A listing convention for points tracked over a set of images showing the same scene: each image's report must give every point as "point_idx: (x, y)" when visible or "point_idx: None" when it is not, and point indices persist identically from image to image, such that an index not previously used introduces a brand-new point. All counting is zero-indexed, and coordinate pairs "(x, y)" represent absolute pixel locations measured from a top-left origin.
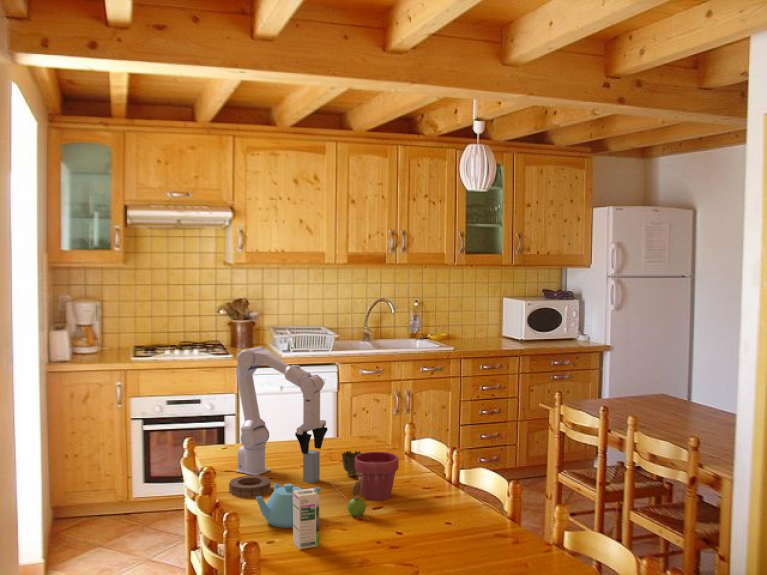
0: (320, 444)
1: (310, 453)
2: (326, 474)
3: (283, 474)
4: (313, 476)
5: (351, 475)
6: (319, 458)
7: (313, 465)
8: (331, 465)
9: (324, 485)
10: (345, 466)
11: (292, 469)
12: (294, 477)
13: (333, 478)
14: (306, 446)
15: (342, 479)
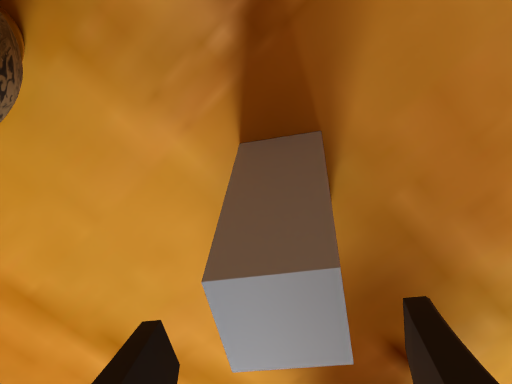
0: (139, 358)
1: (335, 299)
2: (125, 191)
3: None
4: (315, 151)
5: (7, 16)
6: (217, 233)
7: (319, 195)
8: (2, 276)
9: (302, 30)
10: (11, 64)
11: (214, 361)
12: None
13: (140, 100)
14: (484, 377)
15: (102, 32)
